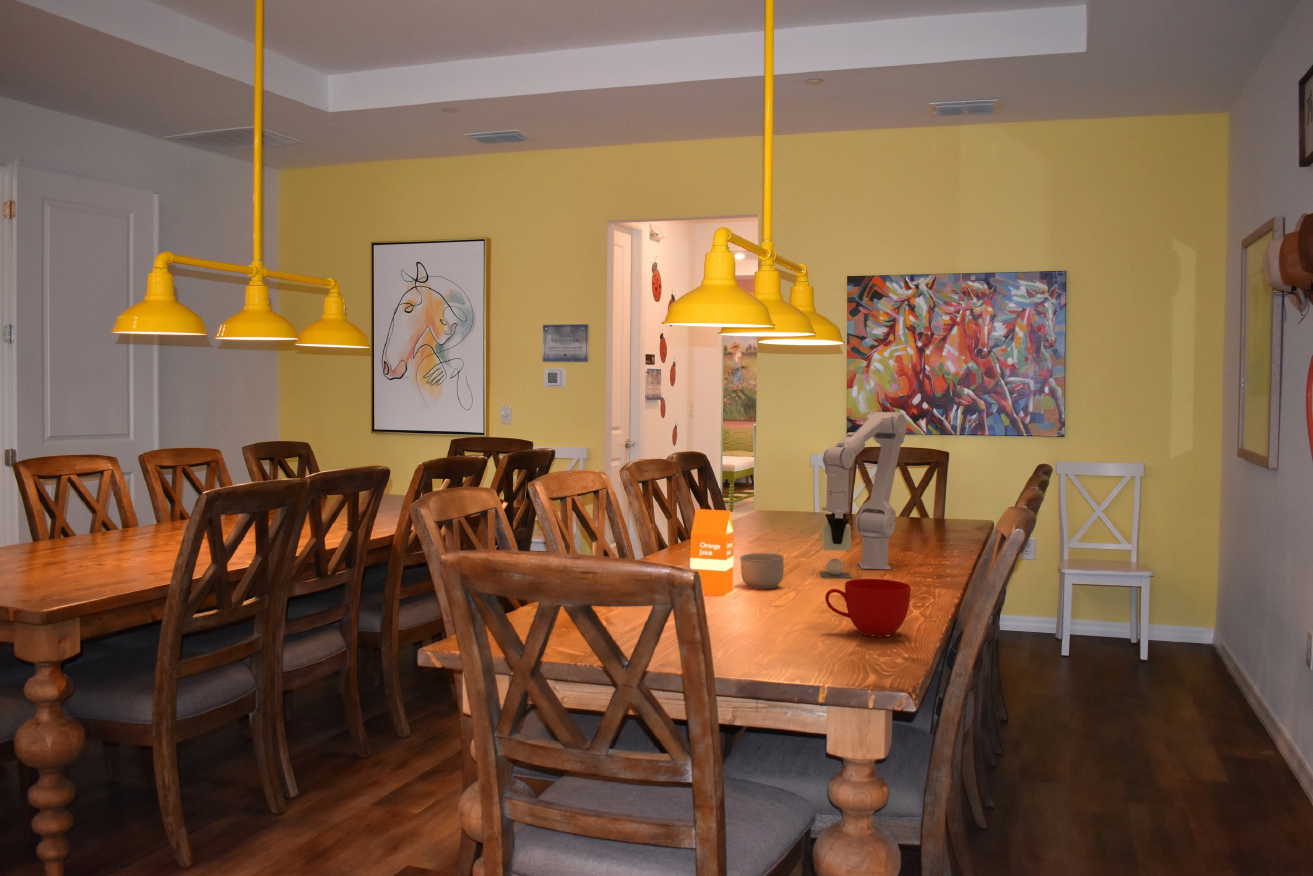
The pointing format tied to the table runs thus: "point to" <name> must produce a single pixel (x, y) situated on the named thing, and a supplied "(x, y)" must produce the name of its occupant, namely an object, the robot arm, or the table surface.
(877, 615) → the ceramic cup
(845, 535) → the beige cuboid
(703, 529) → the orange juice
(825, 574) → the thin dark grey panel
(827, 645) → the table surface
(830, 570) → the ball
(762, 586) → the teacup
